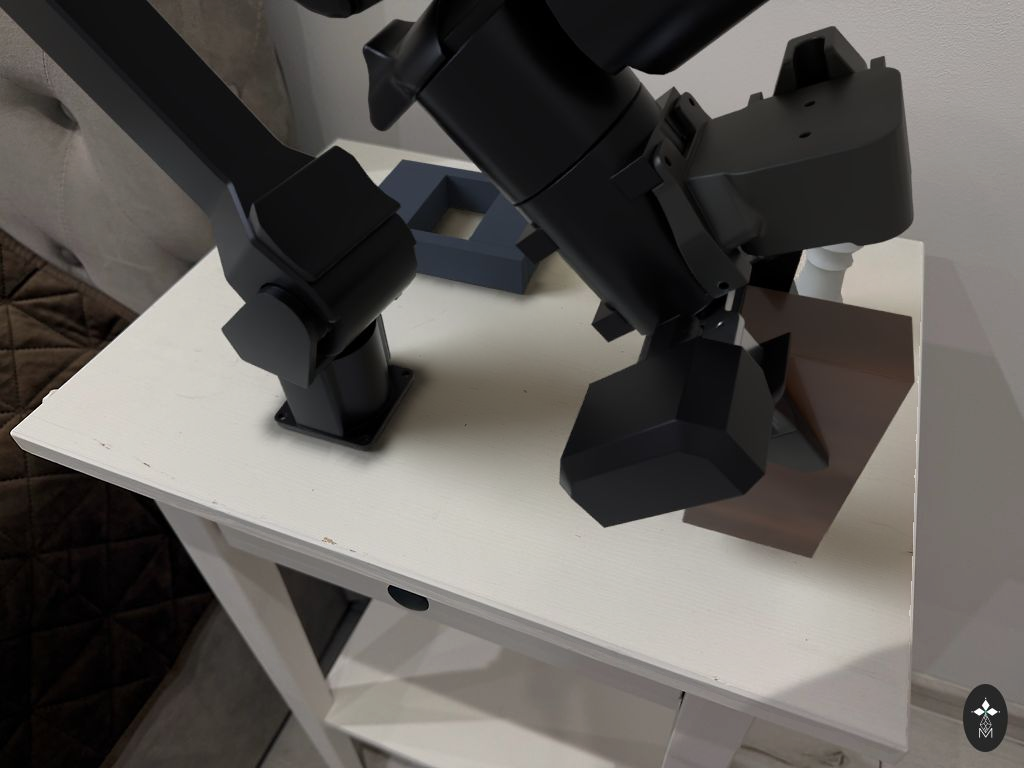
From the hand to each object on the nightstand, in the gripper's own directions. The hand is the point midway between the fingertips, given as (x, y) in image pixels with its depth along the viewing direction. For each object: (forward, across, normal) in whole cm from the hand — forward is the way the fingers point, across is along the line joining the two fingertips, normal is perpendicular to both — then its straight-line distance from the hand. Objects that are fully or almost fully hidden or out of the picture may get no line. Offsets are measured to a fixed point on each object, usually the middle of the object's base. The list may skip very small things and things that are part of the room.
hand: (820, 432), depth 29 cm
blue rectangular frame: (-11, +20, +24) cm, 34 cm away
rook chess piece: (+7, +18, +6) cm, 20 cm away
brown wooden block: (+4, 0, +6) cm, 7 cm away
